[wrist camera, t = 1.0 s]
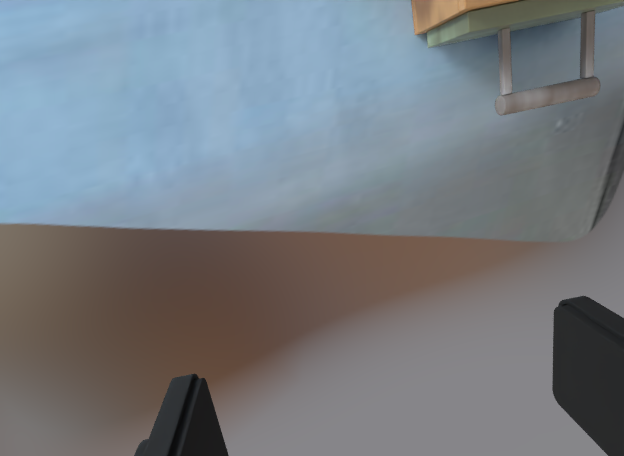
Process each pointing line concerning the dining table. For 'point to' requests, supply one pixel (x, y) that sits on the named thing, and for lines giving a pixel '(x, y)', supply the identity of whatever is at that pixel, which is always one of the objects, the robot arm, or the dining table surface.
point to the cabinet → (445, 11)
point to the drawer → (520, 15)
